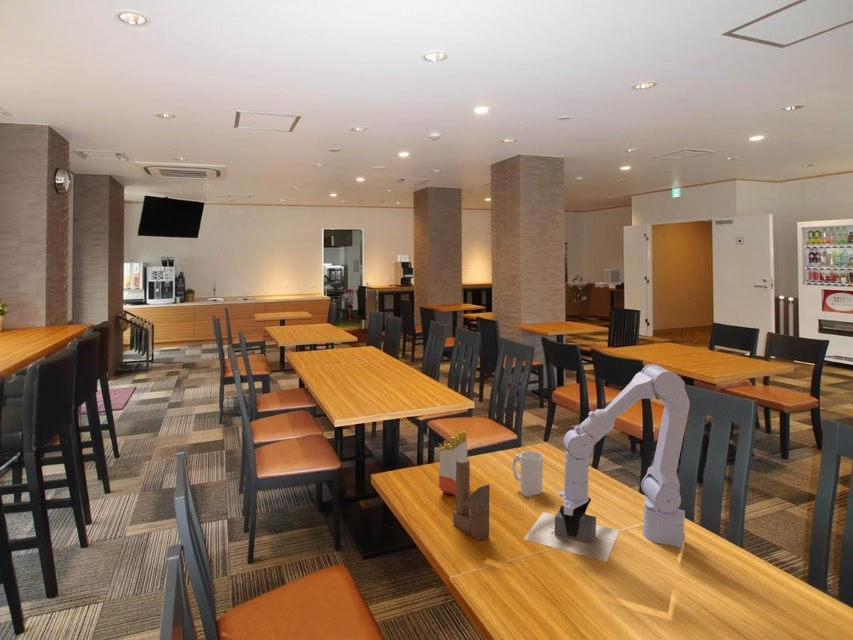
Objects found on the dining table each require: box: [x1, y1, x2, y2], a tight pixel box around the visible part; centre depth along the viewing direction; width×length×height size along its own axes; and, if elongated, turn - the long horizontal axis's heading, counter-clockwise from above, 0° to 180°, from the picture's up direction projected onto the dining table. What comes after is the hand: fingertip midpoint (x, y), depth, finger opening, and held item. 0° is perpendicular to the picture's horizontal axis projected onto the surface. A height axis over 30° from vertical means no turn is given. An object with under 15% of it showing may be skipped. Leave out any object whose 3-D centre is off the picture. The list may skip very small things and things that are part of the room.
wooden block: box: [452, 458, 491, 542], centre depth 135 cm, size 4×11×18 cm, turn 35°
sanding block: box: [555, 509, 597, 545], centre depth 131 cm, size 9×5×5 cm, turn 60°
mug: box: [512, 450, 544, 498], centre depth 158 cm, size 10×7×12 cm, turn 47°
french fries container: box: [438, 430, 468, 496], centre depth 159 cm, size 5×11×18 cm, turn 150°
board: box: [523, 511, 620, 563], centre depth 132 cm, size 20×16×1 cm
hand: (574, 530), depth 131 cm, fingers closed on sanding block, 5 cm apart
